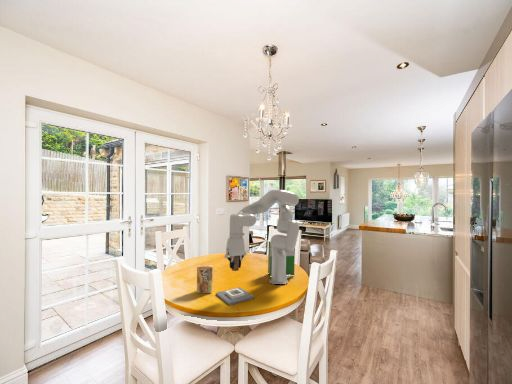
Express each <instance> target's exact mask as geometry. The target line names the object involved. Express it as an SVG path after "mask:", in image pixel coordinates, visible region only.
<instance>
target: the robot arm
mask: <svg viewBox="0 0 512 384" xmlns="http://www.w3.org/2000/svg"><path fill="white" fill-rule="evenodd" d="M299 199H300V197H299V196H298V194H297V193H295V192H291V191H287V190H285V189H271V190H269V191H267V192H266V193H265V194H264V195H263V196H262V197H261V198H260V199H258V200H256V201H255V202H252V203H250V204H248V205H246V206H244V207H242V209H240V210H239V211H238V212H237V213H232V214H230V216H229V237H228V238H227V241H226V248H225V254H224V258H225V259H226V260H228V262H229V268H230V269H231V270H232V269H234V262H233V258H234V256H239V269H240V268H242V267H241V266H242V261H243V259H244V257H245V256H246V255H247V252H246V249H245V239H244V236H245V233H244V232H243V230H244V229H243V228H244V227H247V228H248V227H253V226H255V225H256V223H257V217H256V216H255V215H259V214H262V213H266V212H268V210H270V208H272V207H273V206H274V205H275V204H277V205H278V207H279V215H278V219H277V222H276V223H277V224H276V231H277V232H279V233H281V234H278V233H277V234H274V235H272V236H271V238H270V242H271V248H272V277H271V278H270V277H269V279H268V282H269V283H270V284H271V283H272V284H271V285H274V284H285V283H287V282H288V283H289V280H288V279H289V278H292V277H291V275H290V274H289V275H287V274H286V253H285V251H288V252H290V251H293V250H294V248H295V249H296V245H297V242H298V241H297V240H298V236H299V233H300V232H299V231H300V225H299V222H297V221H296V220H292V217H293V211H292V207H295V206H296V205H298V204H299V201H300V200H299ZM285 234H286V235H285ZM288 283H287V284H288ZM285 285H286V284H285Z"/></svg>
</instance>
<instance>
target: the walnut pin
mask: <svg viewBox="0 0 512 384" xmlns="http://www.w3.org/2000/svg"><path fill="white" fill-rule="evenodd" d="M233 262H234V269H231V271H233V272H237V271H240V270H239V269H240V268H239V256H234V258H233Z"/></svg>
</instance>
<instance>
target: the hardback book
mask: <svg viewBox="0 0 512 384" xmlns="http://www.w3.org/2000/svg"><path fill="white" fill-rule="evenodd" d="M295 250H296V247H295V248H294V250H293V251H290V252H288V251H285V253H286V274H287V275H289V274H290V275H294V276H295V255H296V251H295ZM267 252H268V258H267V259H268V261H267V263H268V265H267V267H268V268H267V269H268V270H267V274H268V273H269V274H270V275H269V277H270V276H272V248H271V241H268V251H267Z"/></svg>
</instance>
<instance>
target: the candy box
mask: <svg viewBox="0 0 512 384" xmlns="http://www.w3.org/2000/svg"><path fill="white" fill-rule="evenodd" d="M213 276H214V265H212V264H211V265H210V264H209V265H205V264H204V265H202V264H201V265H198V266H197V268H196V294H212V292H213V286H214V285H213V283H214V281H213V278H214V277H213Z"/></svg>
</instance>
